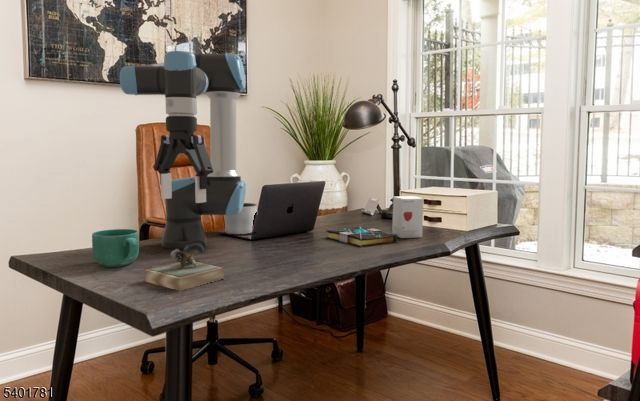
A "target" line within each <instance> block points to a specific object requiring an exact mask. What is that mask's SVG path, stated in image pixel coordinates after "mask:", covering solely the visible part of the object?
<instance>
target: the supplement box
mask: <svg viewBox="0 0 640 401" xmlns="http://www.w3.org/2000/svg"><path fill="white" fill-rule="evenodd" d="M423 216H424V198H422V197H419V196H416V195H415V196H414V195H411V196H409V195H408V196H407V195H405V196H403V195H401V196H393V199H392V228H391V234H398V238H400V239H413V238H415V239H416V238H423V222H424V221H423V220H424V217H423Z"/></svg>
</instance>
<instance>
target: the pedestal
mask: <svg viewBox="0 0 640 401" xmlns="http://www.w3.org/2000/svg"><path fill="white" fill-rule="evenodd" d="M196 263H197V267H196V266H195V265H193V264H191V263H188V262H186V263H185V266H184V267H183V268H182V269H180V268H181V263H180V262H175V263H171V264H167V265H162V266H157V267H156V266H155V267H153V268H146V269H144V282H146V283H148V284H149V283H150V284H153V285H156V286H160V287H163V288H168V289H171V290H174V289H175V290H174V291H179V292H182V291H185V289H186V290H188V289H189V290H190V289H192V288H197V287H199V286H200V285H201V286H204V285H208V284H210V282H212V283H215V282H214V281H216V282H219V281H222V280H221V279H223V280H224V279H225V278H224V277H225V275H224V274H225V273H224V272H225V269H224V267H221V266H216V265H211V264H207V263H202V262H196ZM218 280H219V281H218ZM207 283H208V284H207ZM203 284H204V285H203ZM196 286H197V287H196ZM181 290H182V291H181Z"/></svg>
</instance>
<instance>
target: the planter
mask: <svg viewBox="0 0 640 401" xmlns="http://www.w3.org/2000/svg"><path fill="white" fill-rule="evenodd" d="M256 212H257V213H258V204H256V203H251V202H244V205H243V208H242V210H241V212H240V213H239V214H237V215H228V216H226V215H224V216H225V217H224V231H225V233H226V234H227V235H231V234H246V233H251V232H252V226H253V220H254V215H255V213H256Z"/></svg>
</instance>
